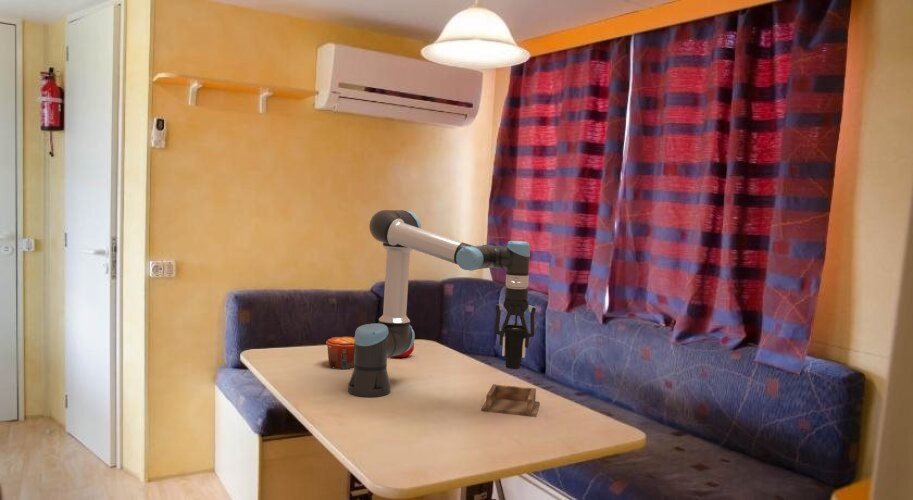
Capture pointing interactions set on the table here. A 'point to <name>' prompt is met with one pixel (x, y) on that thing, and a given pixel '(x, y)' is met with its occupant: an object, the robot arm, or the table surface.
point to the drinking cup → (514, 344)
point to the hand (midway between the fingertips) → (513, 355)
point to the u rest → (511, 400)
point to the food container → (341, 352)
